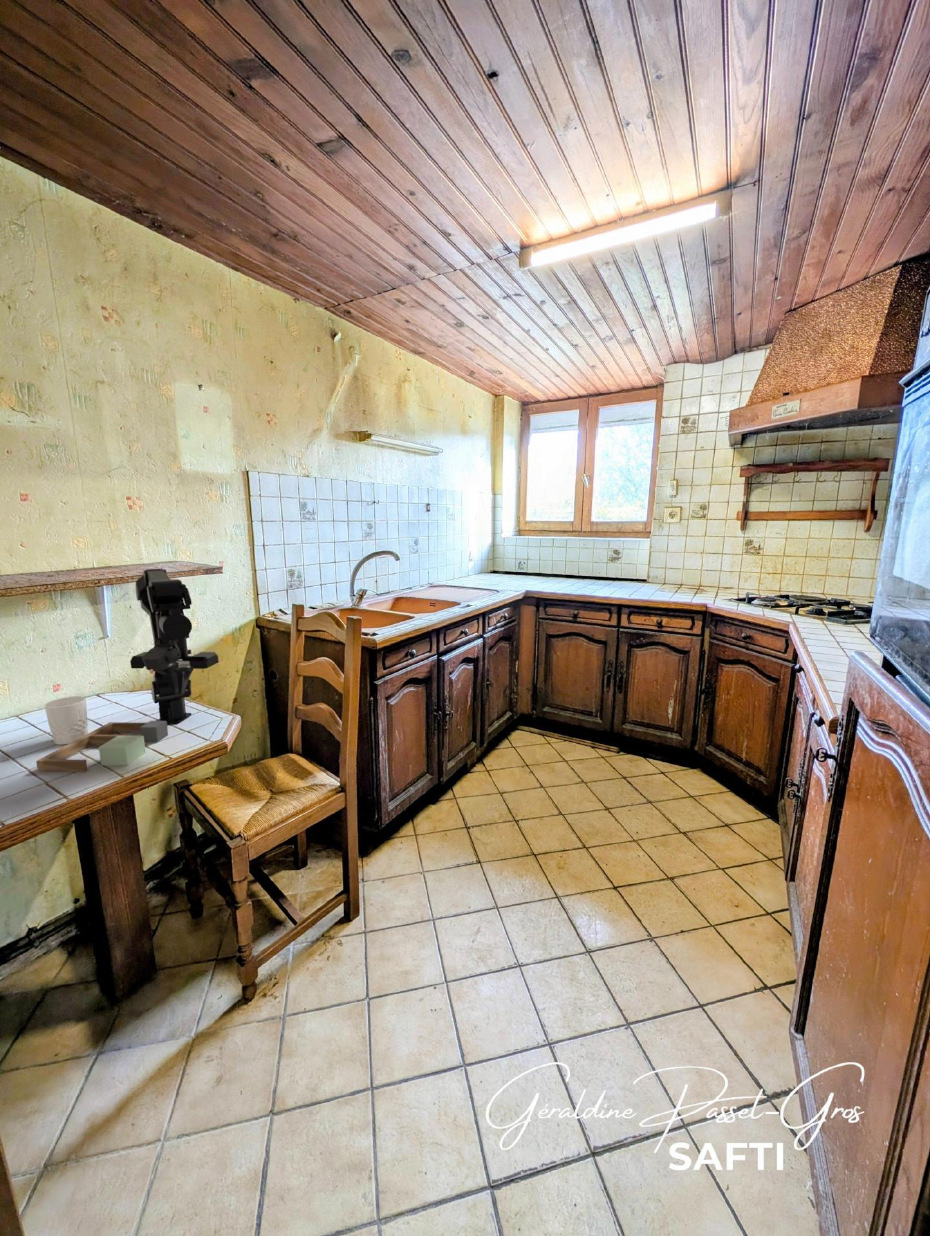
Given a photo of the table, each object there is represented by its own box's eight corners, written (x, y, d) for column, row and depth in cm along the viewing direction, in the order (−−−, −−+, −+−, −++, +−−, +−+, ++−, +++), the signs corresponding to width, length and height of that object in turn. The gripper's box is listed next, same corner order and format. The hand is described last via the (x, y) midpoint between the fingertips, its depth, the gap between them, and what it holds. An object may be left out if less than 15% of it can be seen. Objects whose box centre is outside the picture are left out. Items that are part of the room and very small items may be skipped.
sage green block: (120, 753, 112) (118, 735, 112) (145, 753, 112) (143, 735, 112) (101, 765, 107) (98, 747, 106) (127, 766, 106) (125, 747, 106)
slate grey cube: (152, 735, 122) (151, 720, 121) (168, 735, 122) (166, 720, 121) (142, 742, 118) (140, 727, 117) (157, 742, 118) (156, 727, 117)
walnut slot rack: (111, 730, 125) (109, 722, 124) (149, 731, 124) (148, 722, 124) (37, 771, 104) (36, 761, 103) (84, 771, 104) (82, 761, 103)
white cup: (86, 730, 125) (80, 693, 123) (95, 738, 120) (89, 700, 118) (47, 740, 119) (41, 702, 117) (55, 749, 114) (48, 709, 112)
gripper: (108, 639, 107) (118, 705, 110) (190, 639, 107) (197, 705, 109) (142, 629, 118) (150, 689, 121) (216, 629, 118) (222, 689, 120)
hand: (179, 693), depth 118 cm, fingers closed
